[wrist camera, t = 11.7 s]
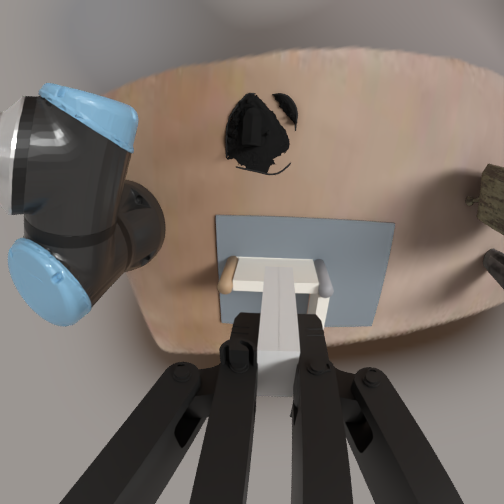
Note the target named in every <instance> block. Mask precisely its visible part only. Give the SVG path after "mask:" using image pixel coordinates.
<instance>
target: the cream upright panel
mask: <svg viewBox="0 0 504 504" xmlns="http://www.w3.org/2000/svg"><path fill="white" fill-rule="evenodd" d="M329 298H330V297H329ZM329 298H322V297H321V296H320V295H319V291H318V294H311V293H310V299H309V306H308V313H307V314H316V315H317V316H318V317H319V319H320V320H321V321H322V326H323V329H324V325H325V320H326V314H327V309H328V304H329Z"/></svg>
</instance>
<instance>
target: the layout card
mask: <svg viewBox="0 0 504 504" xmlns="http://www.w3.org/2000/svg"><path fill="white" fill-rule="evenodd" d="M394 228H395V223H389V222H375V221H361V220H345V219H327V218H307V217H283V216H251V215H216V233H217V254H218V273H219V280H220V278H221V275H222V272H223V270H224V267H225V264H226V262H227V259H228V258H229V257H230V256H236V257H237V258H238V259H239V257H242V258H268V259H295V260H313V262H314V260H316V259H322V260H323V261H324V263H325V266H326V269H327V272H328V275H329V278H330V281H331V284H332V287H333V290H334V292H333V295H332V296H331V297H330V298H329V304H328V309H327V314H326V320H325V325H324V327H356V326H372V323H373V320H374V316H375V313H376V309H377V305H378V302H379V298H380V294H381V290H382V286H383V282H384V278H385V273H386V269H387V264H388V260H389V255H390V250H391V245H392V239H393V234H394ZM262 295H263V292H254V291H233V288H232V291H231V292H230V293H229V294H222V293H220V305H221V320H222V323H232V324H233V323H234V318H235V317H236V316H237V315H238V314H239V313H240V312H247V313H261V306H262ZM295 297H296V308H297V314H307V313H308V306H309V299H310V293H295Z"/></svg>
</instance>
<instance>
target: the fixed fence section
mask: <svg viewBox="0 0 504 504" xmlns="http://www.w3.org/2000/svg"><path fill="white" fill-rule="evenodd" d="M265 266H270V267H292V268H293V277H294V287H295V293H311V294H318V291H319V295H320V296H321V297H322V298H329V297H331V296H332V295H333V292H334V290H333V287H332V284H331V281H330V278H329V275H328V272H327V269H326V266H325V263H324V261H323V260H322V259H316V260H314V262H313V260H295V259H268V258H242V257H239V259H238V258H237V257H236V256H230V257H229V258H228V259H227V262H226V264H225V267H224V270H223V272H222V275H221V278H220V280H219V283H218V286H217V289H218V291H219V292H220V293H222V294H229V293H230V292H231V291H232V288H233V291H254V292H263V284H264V273H265Z"/></svg>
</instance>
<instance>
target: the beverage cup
mask: <svg viewBox="0 0 504 504" xmlns="http://www.w3.org/2000/svg"><path fill="white" fill-rule="evenodd" d="M483 265H484V267H485V268H486V269H487V271H488V272H489V273H490V274H491V275H492V276H493V278H494V279H495V280H496V281H497V282H498V283H499V284H500V286H501V287H502V288H503V289H504V254H503V253H502V252H500V251H497V250H495V249H490V250H489V251H488V252H487V253H486V255H485V257H484V261H483Z"/></svg>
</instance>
